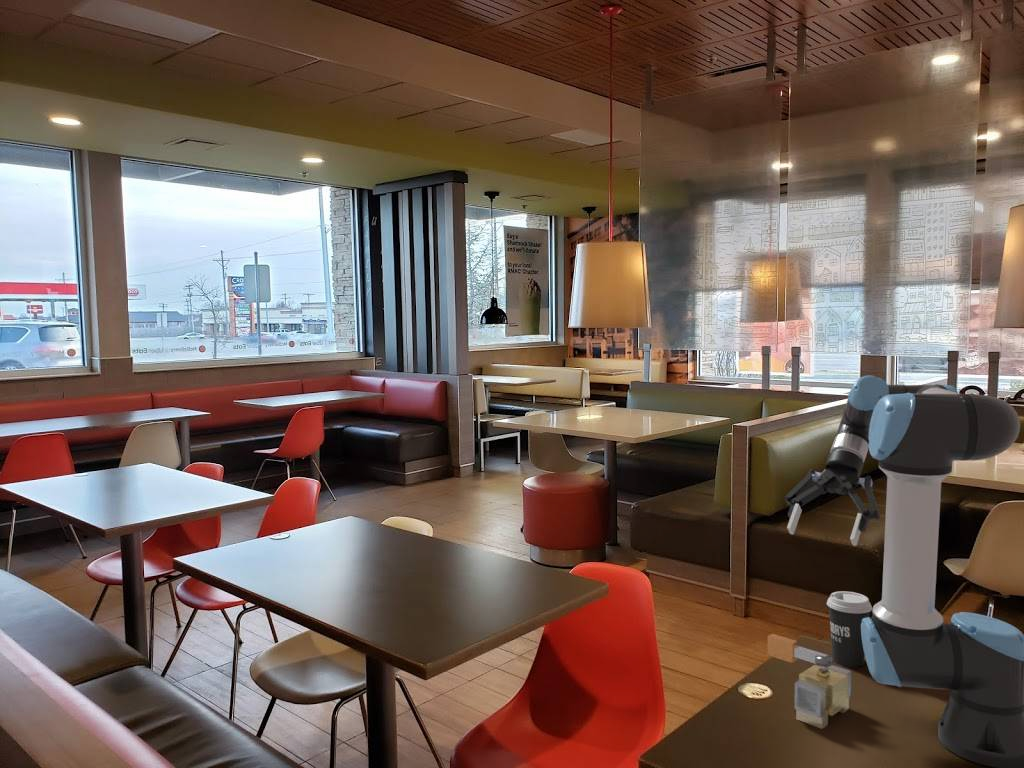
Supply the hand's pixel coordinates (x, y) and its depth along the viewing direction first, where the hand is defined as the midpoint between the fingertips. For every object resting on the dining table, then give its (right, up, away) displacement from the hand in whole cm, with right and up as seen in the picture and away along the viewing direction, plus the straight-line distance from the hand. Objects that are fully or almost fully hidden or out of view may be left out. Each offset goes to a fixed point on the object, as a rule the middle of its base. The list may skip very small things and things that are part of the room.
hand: (820, 536), depth 169 cm
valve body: (-6, -32, -15) cm, 36 cm away
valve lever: (-9, -23, -12) cm, 28 cm away
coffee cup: (+10, -31, +10) cm, 34 cm away
